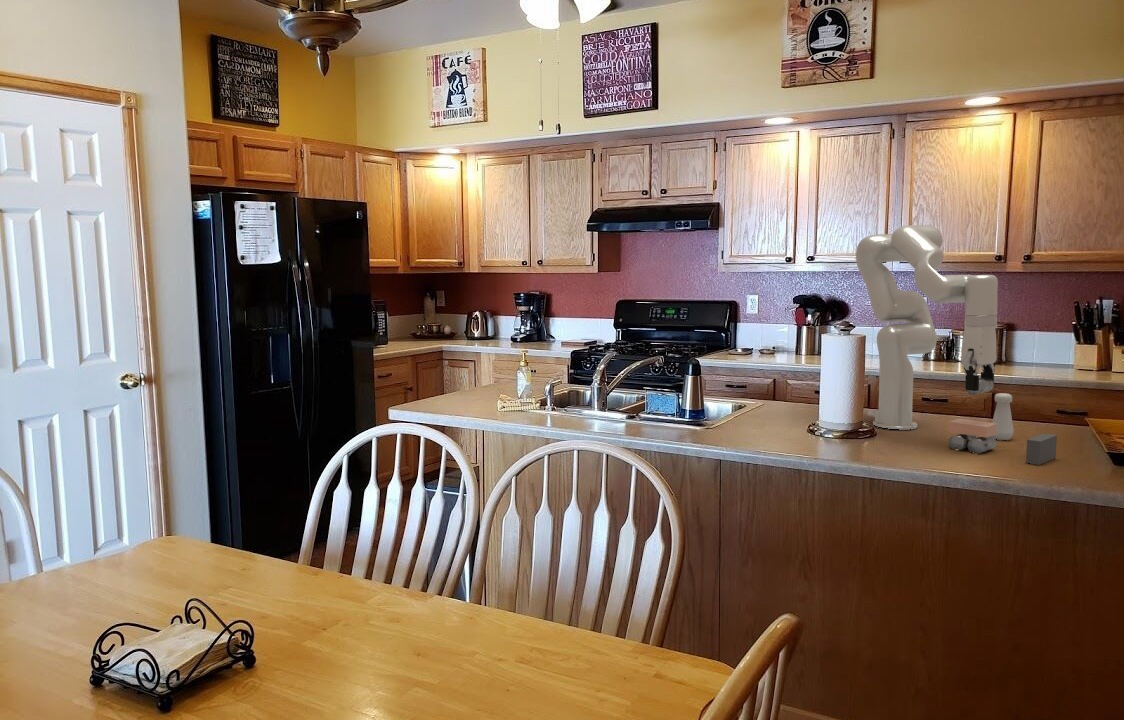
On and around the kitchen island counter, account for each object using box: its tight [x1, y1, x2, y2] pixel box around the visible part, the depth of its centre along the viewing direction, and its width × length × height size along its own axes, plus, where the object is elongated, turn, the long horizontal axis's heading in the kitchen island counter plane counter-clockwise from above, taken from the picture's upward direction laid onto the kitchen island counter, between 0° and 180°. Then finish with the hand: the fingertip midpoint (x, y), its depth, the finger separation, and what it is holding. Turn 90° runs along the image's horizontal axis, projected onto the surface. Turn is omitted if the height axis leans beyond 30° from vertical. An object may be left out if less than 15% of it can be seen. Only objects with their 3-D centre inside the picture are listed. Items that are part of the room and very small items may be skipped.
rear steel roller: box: [948, 433, 977, 451], centre depth 211 cm, size 4×8×4 cm, turn 128°
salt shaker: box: [991, 392, 1015, 441], centre depth 220 cm, size 6×6×13 cm
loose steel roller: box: [964, 376, 995, 395], centre depth 206 cm, size 4×8×4 cm, turn 127°
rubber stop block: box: [1025, 433, 1058, 466], centre depth 196 cm, size 3×10×6 cm, turn 128°
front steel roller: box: [967, 436, 997, 454], centre depth 208 cm, size 4×8×4 cm, turn 128°
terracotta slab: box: [947, 418, 997, 438], centre depth 209 cm, size 10×6×3 cm, turn 38°
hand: (979, 388), depth 206 cm, fingers closed on loose steel roller, 7 cm apart
